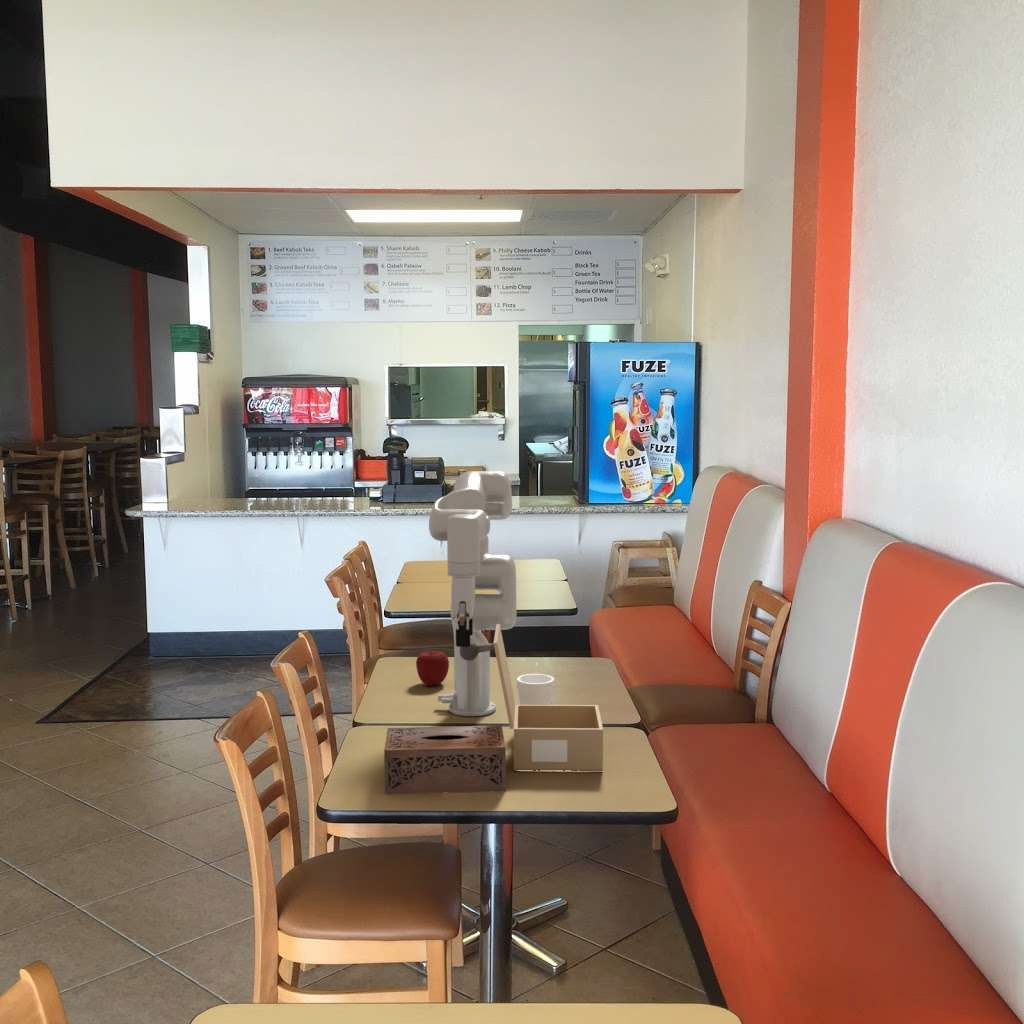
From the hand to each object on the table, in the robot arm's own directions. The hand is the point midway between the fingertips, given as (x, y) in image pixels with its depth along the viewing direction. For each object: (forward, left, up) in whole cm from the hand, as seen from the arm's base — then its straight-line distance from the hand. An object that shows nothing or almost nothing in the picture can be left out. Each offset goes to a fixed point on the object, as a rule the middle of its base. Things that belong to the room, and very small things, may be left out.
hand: (464, 640), depth 236 cm
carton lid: (+10, -1, -8) cm, 12 cm away
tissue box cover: (-3, -15, -28) cm, 32 cm away
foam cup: (+17, +20, -28) cm, 38 cm away
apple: (-13, +59, -28) cm, 67 cm away
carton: (+22, -1, -28) cm, 35 cm away
